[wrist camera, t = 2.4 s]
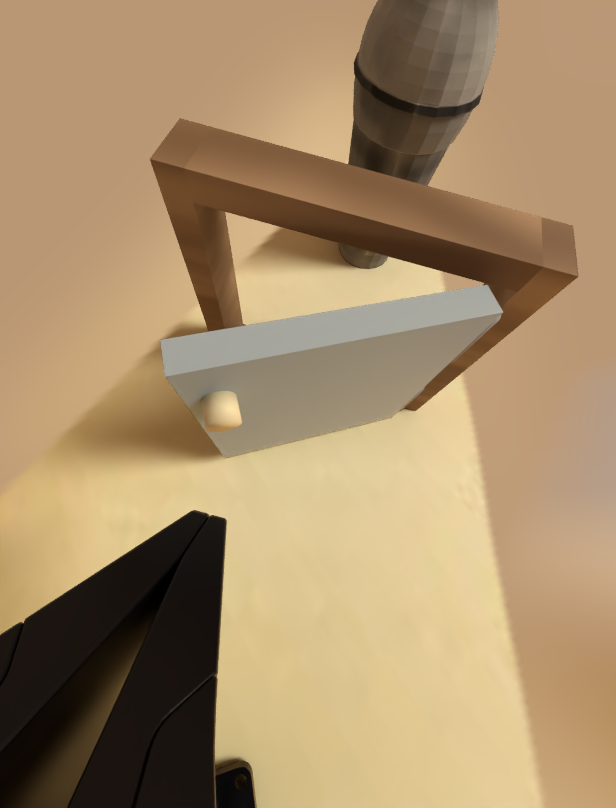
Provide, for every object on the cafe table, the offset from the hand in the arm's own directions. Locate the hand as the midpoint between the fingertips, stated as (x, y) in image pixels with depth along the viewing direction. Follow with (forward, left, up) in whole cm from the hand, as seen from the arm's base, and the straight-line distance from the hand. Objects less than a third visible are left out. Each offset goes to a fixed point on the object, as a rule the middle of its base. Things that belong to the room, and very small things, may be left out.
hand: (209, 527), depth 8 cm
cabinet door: (+4, -5, -11) cm, 13 cm away
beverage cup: (+21, -13, -12) cm, 27 cm away
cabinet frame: (+10, -7, -12) cm, 17 cm away
